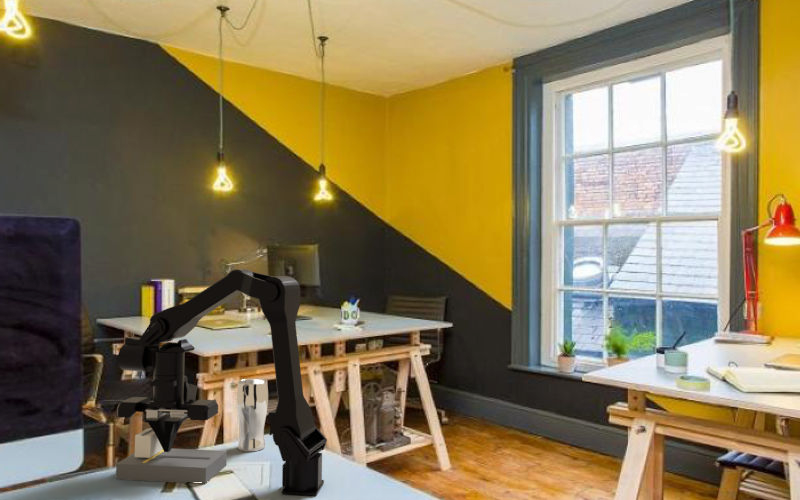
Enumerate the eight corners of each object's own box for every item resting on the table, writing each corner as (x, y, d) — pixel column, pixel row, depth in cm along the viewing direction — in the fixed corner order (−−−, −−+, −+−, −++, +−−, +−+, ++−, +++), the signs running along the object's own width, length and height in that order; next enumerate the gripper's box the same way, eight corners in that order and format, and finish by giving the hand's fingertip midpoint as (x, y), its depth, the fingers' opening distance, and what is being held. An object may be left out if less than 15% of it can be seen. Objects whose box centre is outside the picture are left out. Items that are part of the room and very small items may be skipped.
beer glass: (256, 440, 137) (257, 376, 137) (273, 447, 132) (274, 381, 133) (229, 447, 132) (231, 381, 132) (246, 454, 127) (247, 385, 128)
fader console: (226, 465, 120) (226, 450, 120) (205, 483, 110) (205, 467, 111) (143, 461, 122) (144, 446, 122) (116, 479, 112) (116, 463, 112)
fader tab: (162, 449, 119) (163, 427, 119) (149, 457, 114) (150, 435, 114) (147, 449, 120) (148, 427, 120) (134, 457, 115) (135, 434, 115)
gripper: (229, 367, 124) (228, 441, 124) (146, 364, 126) (144, 437, 126) (207, 377, 113) (205, 458, 113) (116, 374, 115) (114, 454, 114)
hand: (167, 451), depth 117 cm, fingers closed
